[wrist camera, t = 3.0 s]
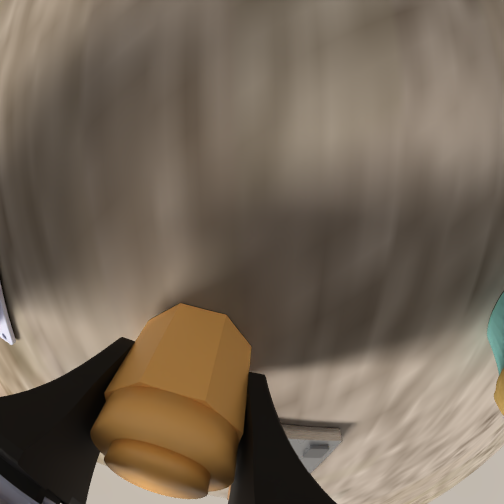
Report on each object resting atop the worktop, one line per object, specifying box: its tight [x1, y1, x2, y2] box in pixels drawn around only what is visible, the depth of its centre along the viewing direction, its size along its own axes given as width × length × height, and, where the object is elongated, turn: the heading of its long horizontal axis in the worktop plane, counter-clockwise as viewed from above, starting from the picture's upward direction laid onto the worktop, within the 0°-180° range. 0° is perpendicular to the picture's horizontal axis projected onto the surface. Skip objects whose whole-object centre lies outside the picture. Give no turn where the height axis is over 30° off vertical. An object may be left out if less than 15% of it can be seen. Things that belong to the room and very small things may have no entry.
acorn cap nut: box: [90, 303, 251, 499], centre depth 9 cm, size 5×5×7 cm
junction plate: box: [227, 424, 342, 500], centre depth 13 cm, size 16×9×4 cm, turn 77°
